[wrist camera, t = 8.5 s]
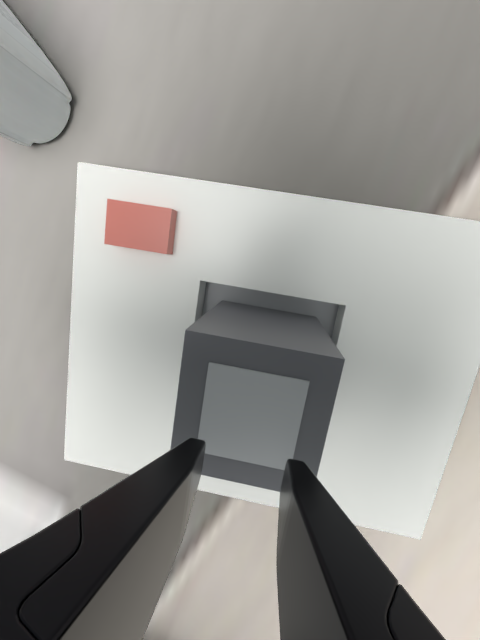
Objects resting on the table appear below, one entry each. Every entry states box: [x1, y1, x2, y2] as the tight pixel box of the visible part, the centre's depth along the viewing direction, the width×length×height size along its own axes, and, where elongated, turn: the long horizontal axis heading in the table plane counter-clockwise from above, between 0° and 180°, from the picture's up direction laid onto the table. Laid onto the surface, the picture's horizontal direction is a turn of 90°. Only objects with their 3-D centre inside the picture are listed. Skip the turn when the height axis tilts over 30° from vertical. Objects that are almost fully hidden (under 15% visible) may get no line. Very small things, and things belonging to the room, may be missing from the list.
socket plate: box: [64, 162, 480, 540], centre depth 16 cm, size 16×20×3 cm
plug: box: [170, 300, 345, 492], centre depth 14 cm, size 5×5×7 cm
